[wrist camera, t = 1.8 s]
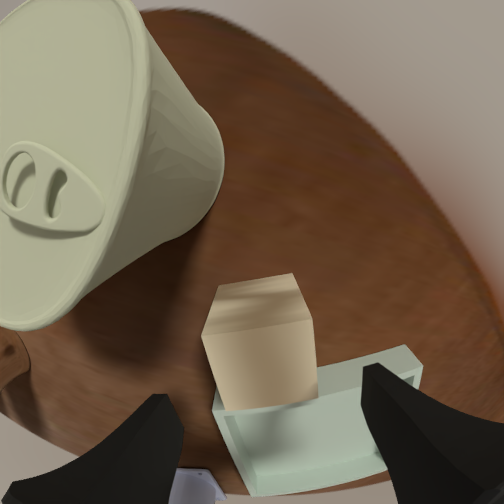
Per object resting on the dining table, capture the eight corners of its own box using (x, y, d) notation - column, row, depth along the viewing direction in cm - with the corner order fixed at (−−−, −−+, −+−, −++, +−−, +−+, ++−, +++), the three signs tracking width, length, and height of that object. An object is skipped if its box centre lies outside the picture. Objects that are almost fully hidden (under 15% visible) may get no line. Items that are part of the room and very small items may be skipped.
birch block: (233, 347, 17) (225, 411, 11) (218, 285, 16) (201, 335, 10) (300, 336, 17) (318, 398, 11) (292, 272, 16) (312, 318, 10)
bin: (252, 474, 21) (251, 497, 18) (217, 382, 18) (212, 410, 15) (385, 447, 20) (393, 467, 17) (404, 344, 17) (423, 365, 14)
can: (183, 269, 16) (72, 413, 4) (68, 207, 15) (-84, 242, 4) (253, 125, 14) (251, -26, 3) (123, 78, 13) (-5, -8, 2)
